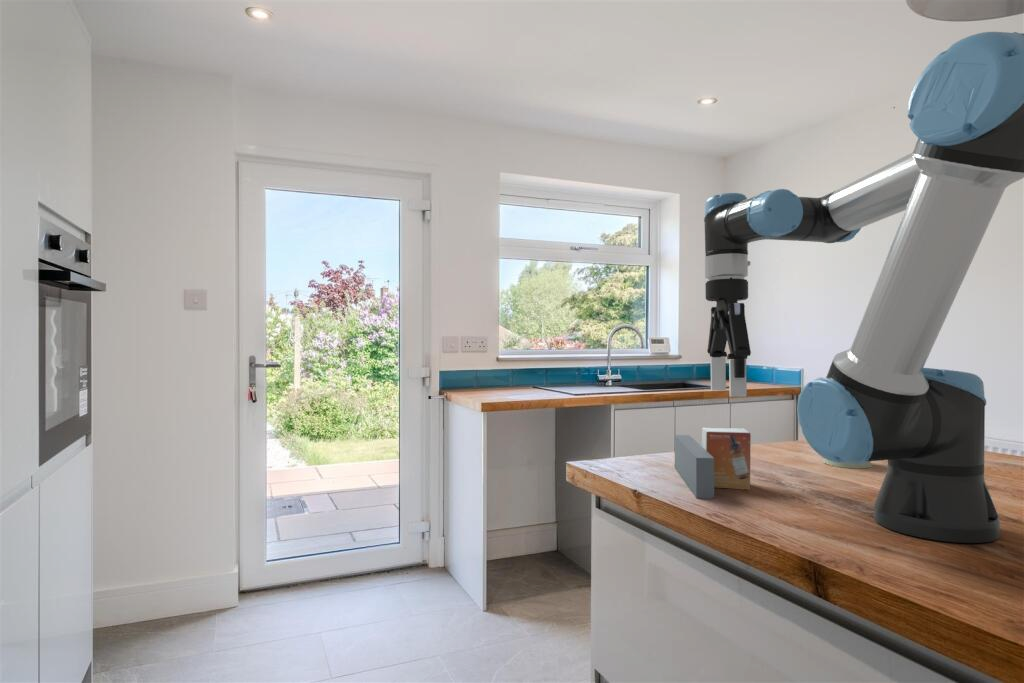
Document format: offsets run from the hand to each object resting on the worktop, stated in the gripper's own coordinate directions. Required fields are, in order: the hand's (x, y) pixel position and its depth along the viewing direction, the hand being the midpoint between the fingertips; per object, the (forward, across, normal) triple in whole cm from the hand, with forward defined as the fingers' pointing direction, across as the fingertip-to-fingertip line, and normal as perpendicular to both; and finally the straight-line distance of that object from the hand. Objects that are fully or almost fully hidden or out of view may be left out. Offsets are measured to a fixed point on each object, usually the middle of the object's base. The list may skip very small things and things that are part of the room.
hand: (727, 393), depth 115 cm
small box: (+18, +1, 0) cm, 18 cm away
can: (+17, +21, -31) cm, 41 cm away
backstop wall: (+17, +3, +6) cm, 18 cm away
